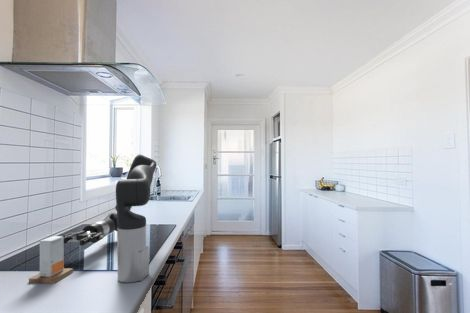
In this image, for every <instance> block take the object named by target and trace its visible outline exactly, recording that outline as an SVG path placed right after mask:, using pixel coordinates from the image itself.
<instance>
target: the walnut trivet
mask: <svg viewBox="0 0 470 313" xmlns="http://www.w3.org/2000/svg"><path fill="white" fill-rule="evenodd" d="M73 272H74V268H70V267H68V268H67V267H66V268H65V267H64V270H63V271H61V272H58V273H56V274H55V275H53V276H51V277H44V276H40V272H39V273H37V274H35V275H33V276H31V277H29V278H28V283H35V284H37V283H39V284H40V283H41V284H46V283H47V284H55V283H57V282H59V281H60V280H62V279H63V278H66V277H67V276H69V275H70V274H72V273H73Z"/></svg>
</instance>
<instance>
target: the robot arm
mask: <svg viewBox="0 0 470 313" xmlns="http://www.w3.org/2000/svg"><path fill="white" fill-rule="evenodd" d="M156 169H157V162H156V161H155V159H153V158H150V157H148V156H146V155H144V154H140V153H139V154H137V155H136V156H135V157H134V159H133V160H132V163H131V165H130V168H129V171H128V174H127V176H126V179H119V180H118V181H117V182H116V186H115V200H116V201H115V203H116V205H115V211H116V212H110V213H108V214H107V216H106V217H105V218H104V219H101V220H98V221H95V222H93V223H90V224H87V225H85V226H84V227H83V229H82V230H79V231H78V232H75V231H72V232H68V233H65V234H62V236H63V237H64V245H65V244H68V243H78V242H79V246H82V247H83V246H85V245H87V244H92V243H94V244H96V243H97V242H99V241H101V240H103V239H104V238H105V237H106V236H107V235H110V234H111V233H112V232H114V231H115V232H116V239H117V240H116V242H117V244H116V246H117V247H116V248H117V250H116V251H117V280H118V282H120V283H135V282H142V281H143V280H145V278H147V276H148V275H149V274H150V247H149V246H147V218H146V217H145V216H144V215H142V214H138V213H136V212H133V211H132V210H131V209H132V207H141V206H142V207H143V206H145V205H147V204H148V203H149V201H150V197H151V186H152V183H153V178H154V174H155V172H156ZM75 238H76V239H75Z"/></svg>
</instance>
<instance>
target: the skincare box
mask: <svg viewBox="0 0 470 313" xmlns="http://www.w3.org/2000/svg"><path fill="white" fill-rule="evenodd" d="M64 245H65V244H64V237H63V235H60V236H59V235H53V236H51V237H47V238H45V239H40V240H39V273H40V276H44V277H51V276H53V275H55V274H56V273H58V272H61V271H63V270H64V268H65V265H64V264H65V261H64V260H65V259H64V256H65V254H64V250H65V247H64Z"/></svg>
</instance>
